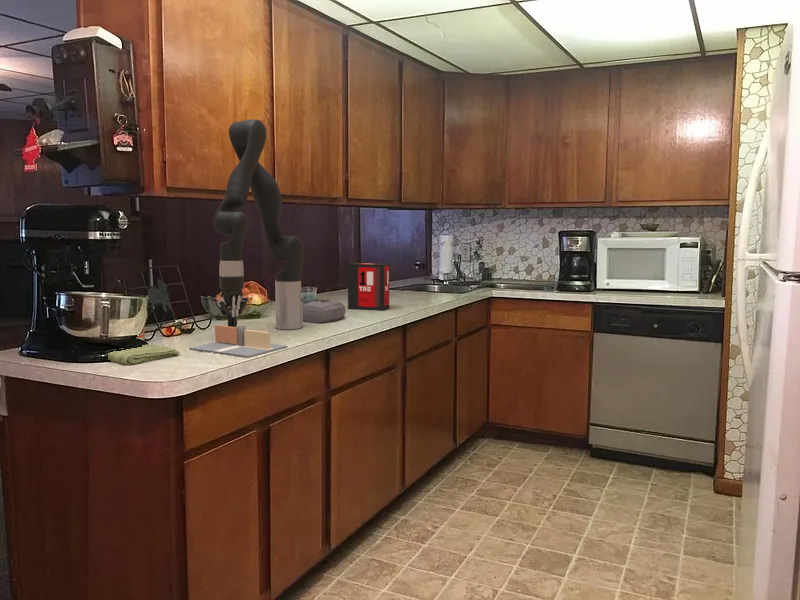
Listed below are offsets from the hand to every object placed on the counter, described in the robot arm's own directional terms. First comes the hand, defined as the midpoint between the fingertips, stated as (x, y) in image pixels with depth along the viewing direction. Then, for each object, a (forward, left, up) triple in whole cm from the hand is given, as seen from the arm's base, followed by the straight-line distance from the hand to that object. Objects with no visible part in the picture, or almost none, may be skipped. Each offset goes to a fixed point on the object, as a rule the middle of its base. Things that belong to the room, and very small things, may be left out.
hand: (232, 328), depth 211 cm
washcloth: (+32, -5, -5) cm, 33 cm away
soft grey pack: (-54, -2, -5) cm, 54 cm away
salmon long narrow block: (+6, +3, -3) cm, 7 cm away
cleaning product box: (-90, -3, -5) cm, 90 cm away
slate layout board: (+8, +10, -4) cm, 13 cm away
